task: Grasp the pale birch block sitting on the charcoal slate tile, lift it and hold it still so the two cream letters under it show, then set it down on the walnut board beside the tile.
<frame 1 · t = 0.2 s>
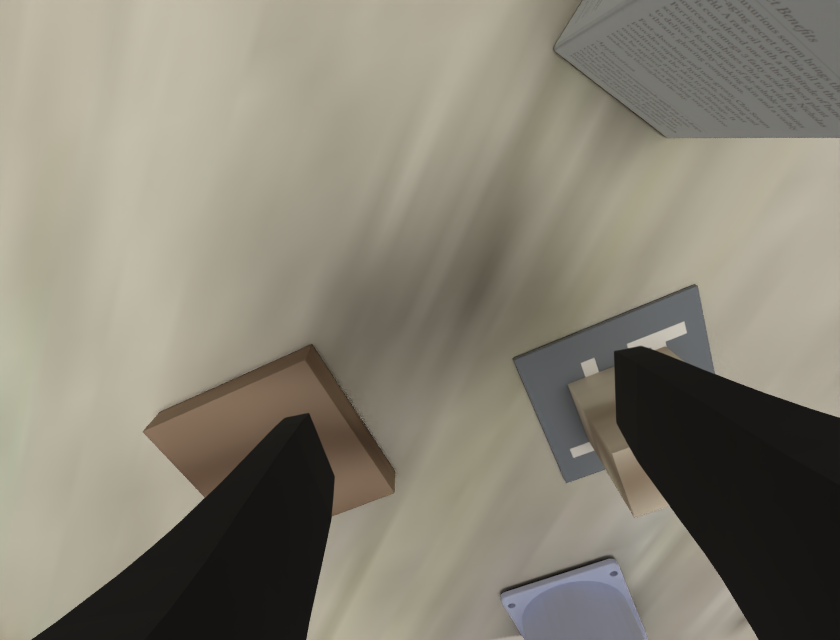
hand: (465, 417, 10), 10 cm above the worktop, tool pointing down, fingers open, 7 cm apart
slate code tile: (622, 393, 22), on the worktop
walnut board: (282, 443, 22), on the worktop
birch block: (624, 395, 21), resting on slate code tile
skincare box: (643, 41, 15), on the worktop
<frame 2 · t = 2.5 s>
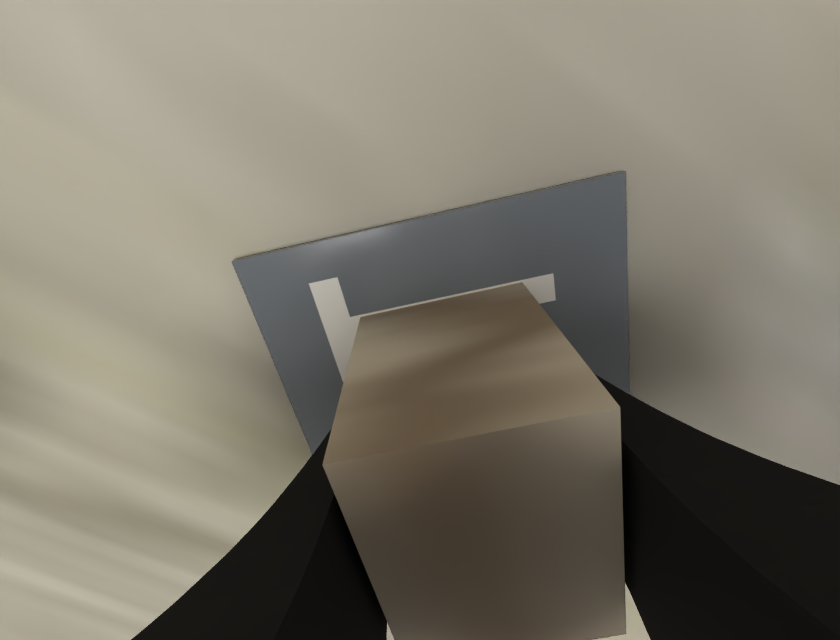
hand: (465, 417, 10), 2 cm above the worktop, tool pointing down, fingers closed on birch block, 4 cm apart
slate code tile: (457, 380, 11), on the worktop
birch block: (458, 385, 11), resting on slate code tile, touching gripper
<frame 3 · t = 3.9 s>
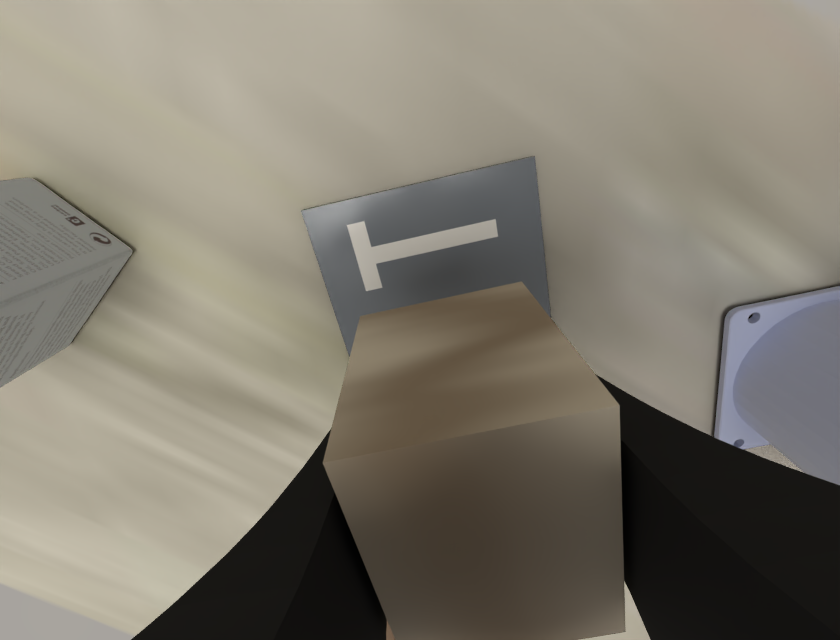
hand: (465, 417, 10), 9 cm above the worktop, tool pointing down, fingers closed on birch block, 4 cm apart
slate code tile: (439, 292, 18), on the worktop
birch block: (458, 384, 11), point 7 cm above the worktop, touching gripper
skincare box: (56, 266, 17), on the worktop
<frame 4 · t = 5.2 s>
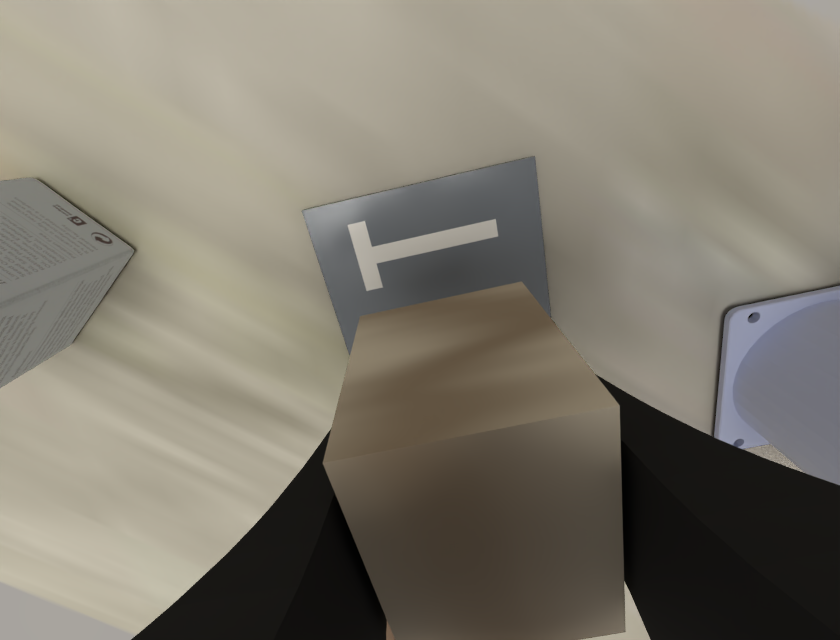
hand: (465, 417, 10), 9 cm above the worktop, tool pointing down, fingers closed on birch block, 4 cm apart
slate code tile: (439, 291, 18), on the worktop
birch block: (458, 384, 11), point 7 cm above the worktop, touching gripper
skincare box: (57, 266, 17), on the worktop
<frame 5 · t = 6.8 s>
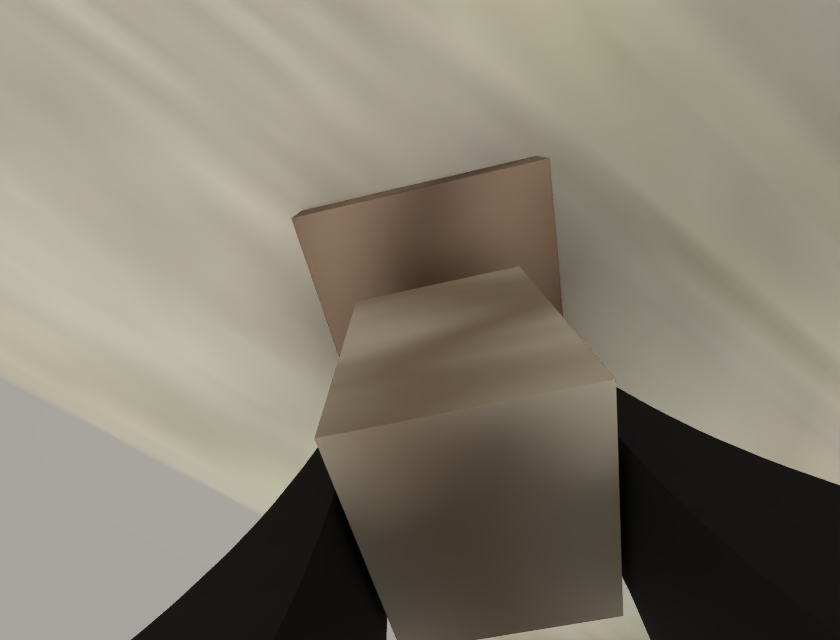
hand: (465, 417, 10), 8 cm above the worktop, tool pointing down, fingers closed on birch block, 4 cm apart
walnut board: (440, 294, 17), on the worktop
birch block: (455, 371, 11), point 7 cm above the worktop, touching gripper
when the fingers open (4 cm above the worktop, at t = 8.2 s): birch block drops 1 cm, resting on walnut board.
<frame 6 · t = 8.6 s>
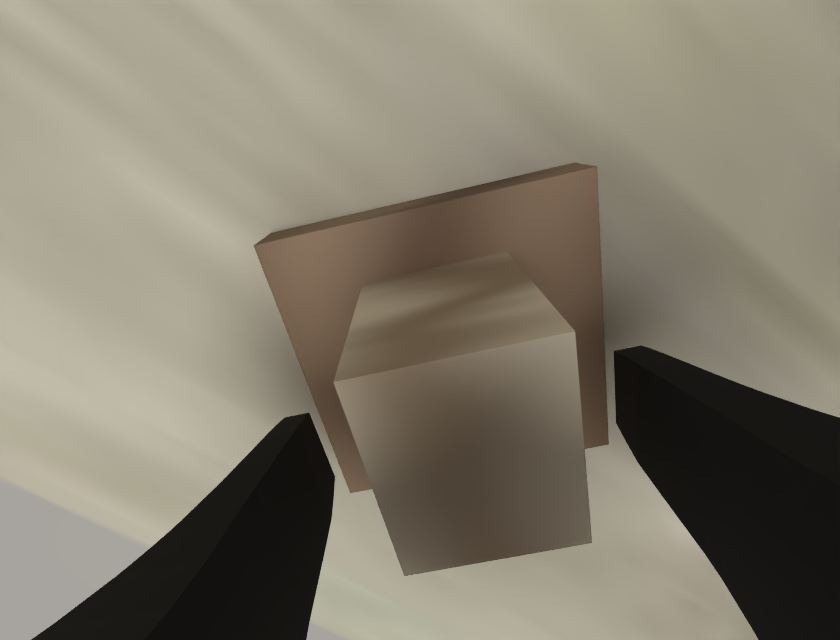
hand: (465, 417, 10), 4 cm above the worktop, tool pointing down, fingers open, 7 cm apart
walnut board: (448, 335, 14), on the worktop
birch block: (451, 346, 12), point 1 cm above the worktop, touching walnut board
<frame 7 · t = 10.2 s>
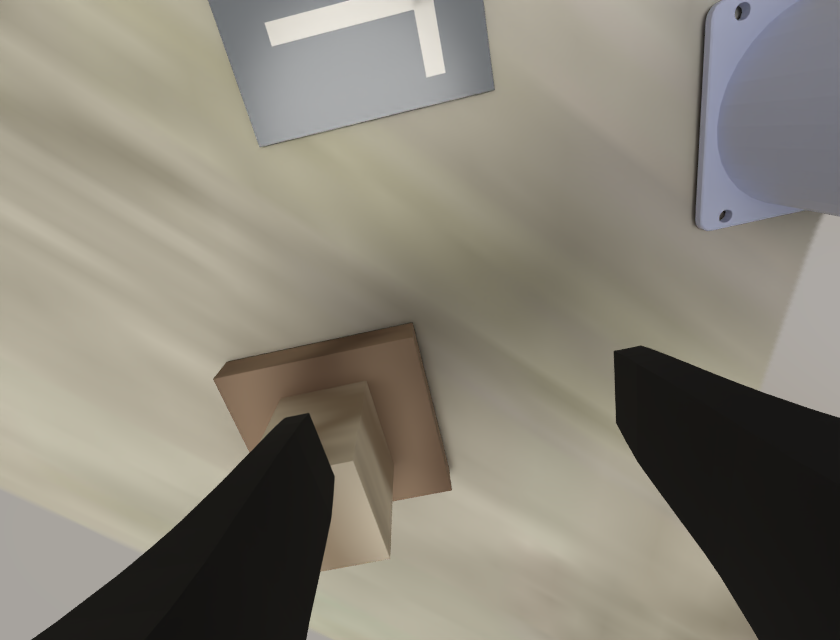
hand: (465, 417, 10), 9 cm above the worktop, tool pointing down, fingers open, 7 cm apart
walnut board: (345, 419, 21), on the worktop
birch block: (339, 433, 20), point 1 cm above the worktop, touching walnut board
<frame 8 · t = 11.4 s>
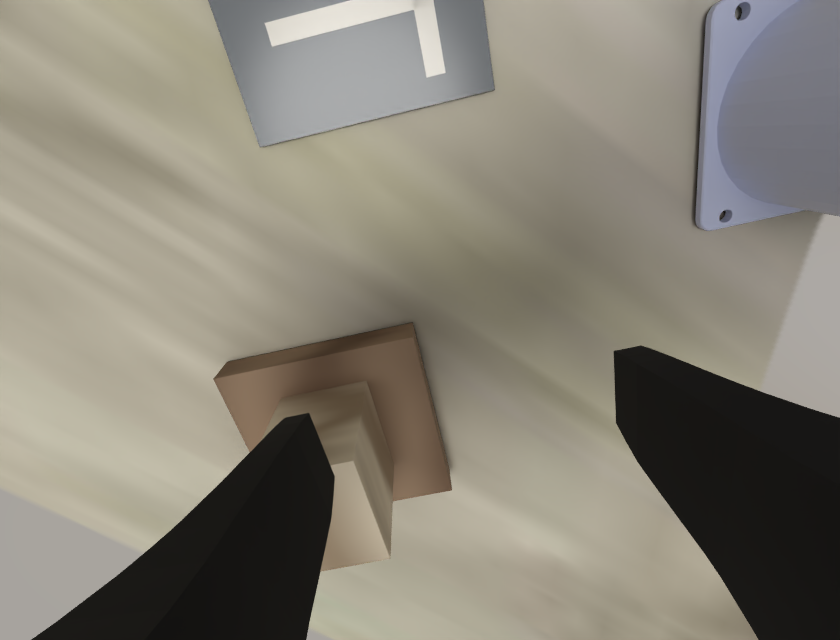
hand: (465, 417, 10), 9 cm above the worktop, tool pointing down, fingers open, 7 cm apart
walnut board: (346, 419, 21), on the worktop
birch block: (340, 433, 20), point 1 cm above the worktop, touching walnut board
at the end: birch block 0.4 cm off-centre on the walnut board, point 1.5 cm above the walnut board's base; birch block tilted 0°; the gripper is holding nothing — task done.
